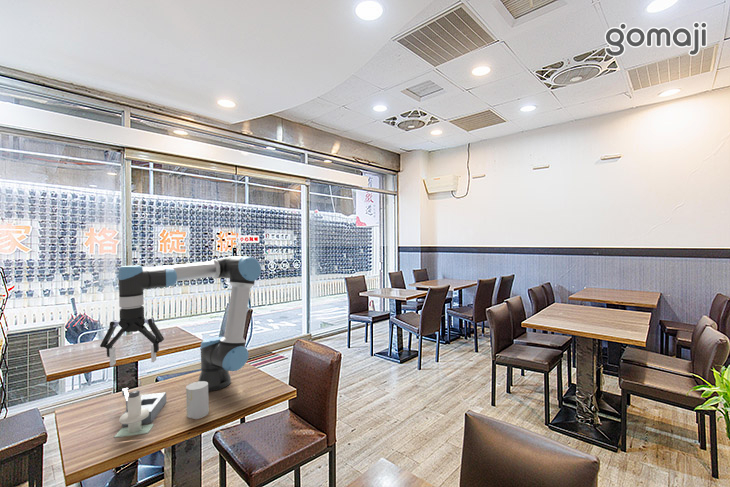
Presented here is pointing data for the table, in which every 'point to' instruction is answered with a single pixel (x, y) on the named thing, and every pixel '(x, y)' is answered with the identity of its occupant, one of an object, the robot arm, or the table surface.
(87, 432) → the table surface
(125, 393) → the record player tonearm
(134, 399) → the plug
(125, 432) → the mat
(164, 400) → the socket block
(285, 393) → the table surface
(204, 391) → the cup
